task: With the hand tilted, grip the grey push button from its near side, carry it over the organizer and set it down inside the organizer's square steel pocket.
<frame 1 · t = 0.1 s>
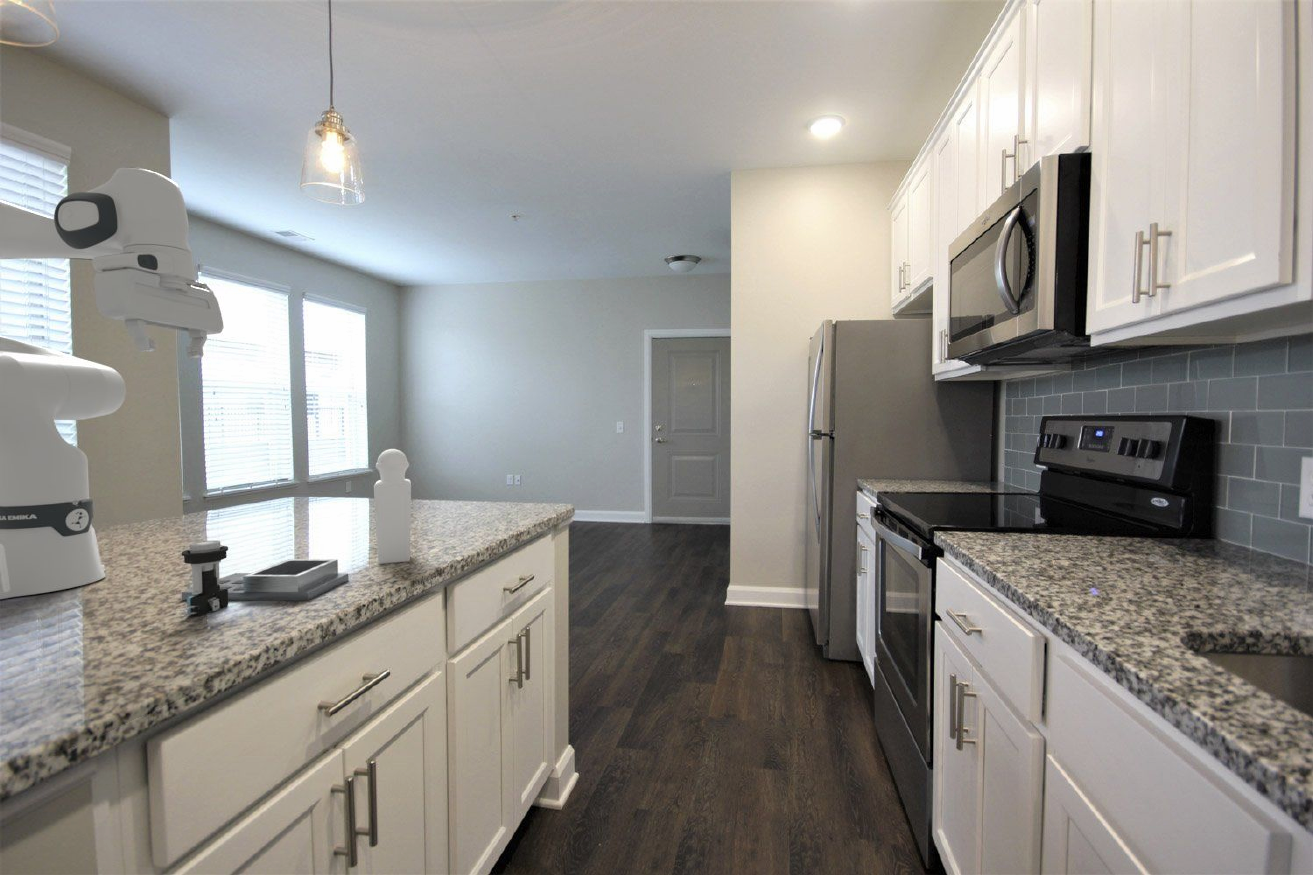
hand: (172, 354, 96), 39 cm above the worktop, tool pointing down, fingers open, 8 cm apart
organizer: (269, 589, 95), on the worktop
white bottle: (394, 560, 114), on the worktop
push button: (203, 613, 84), on the worktop
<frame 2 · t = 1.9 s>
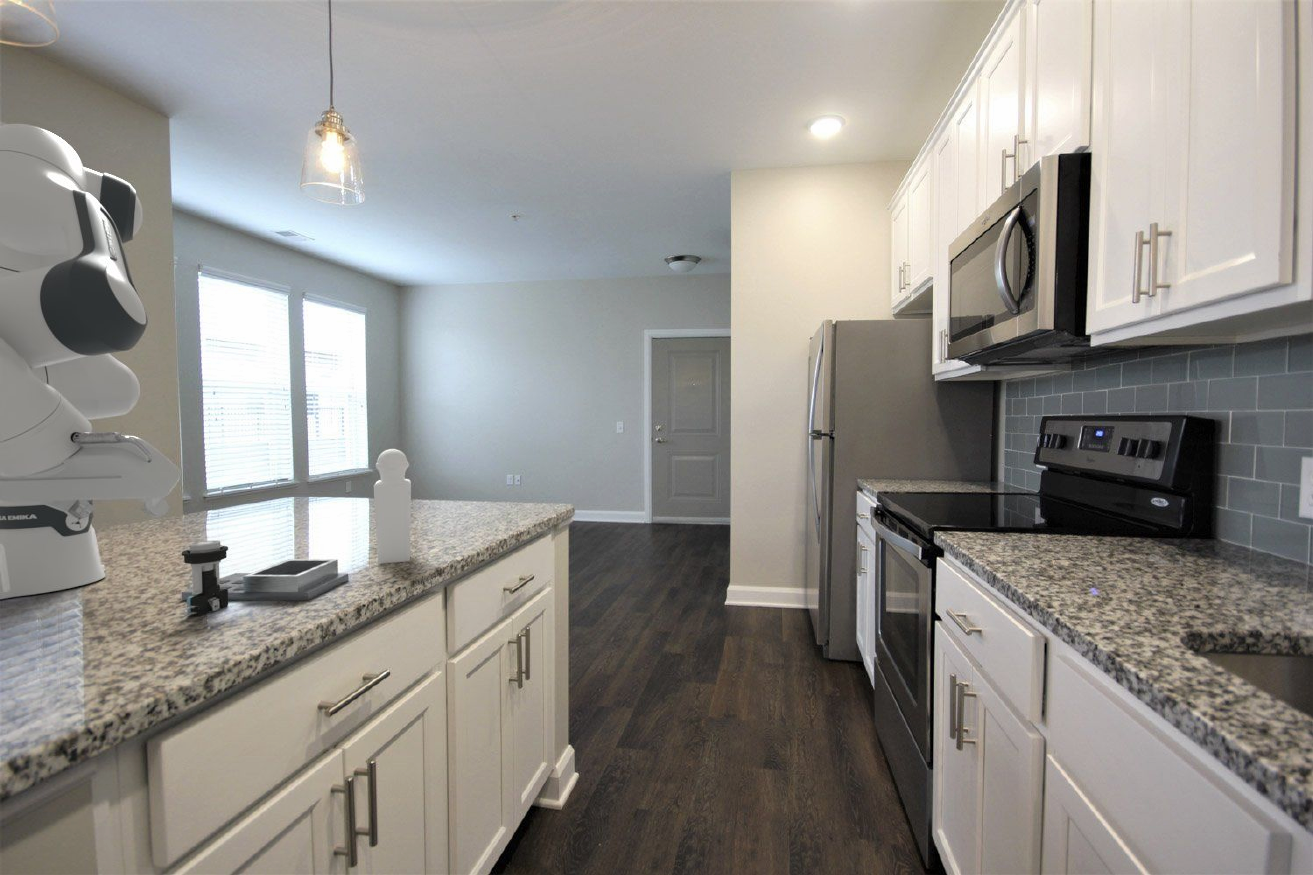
hand: (122, 513, 71), 17 cm above the worktop, tool tilted 45°, fingers open, 8 cm apart
nothing on the worktop moved.
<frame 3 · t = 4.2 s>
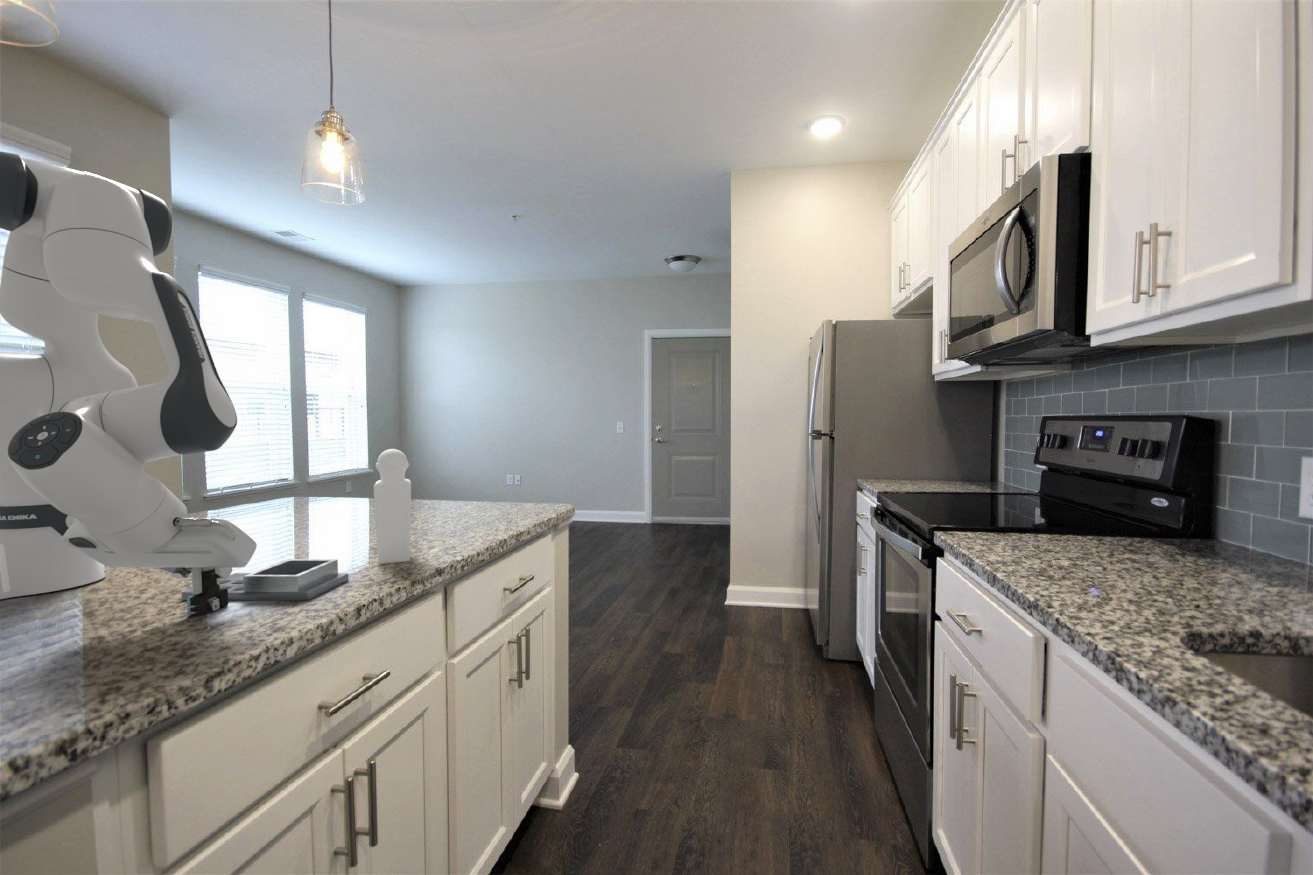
hand: (205, 574, 84), 5 cm above the worktop, tool tilted 45°, fingers closed on push button, 5 cm apart
push button: (203, 613, 84), on the worktop, touching gripper
everything else where it was.
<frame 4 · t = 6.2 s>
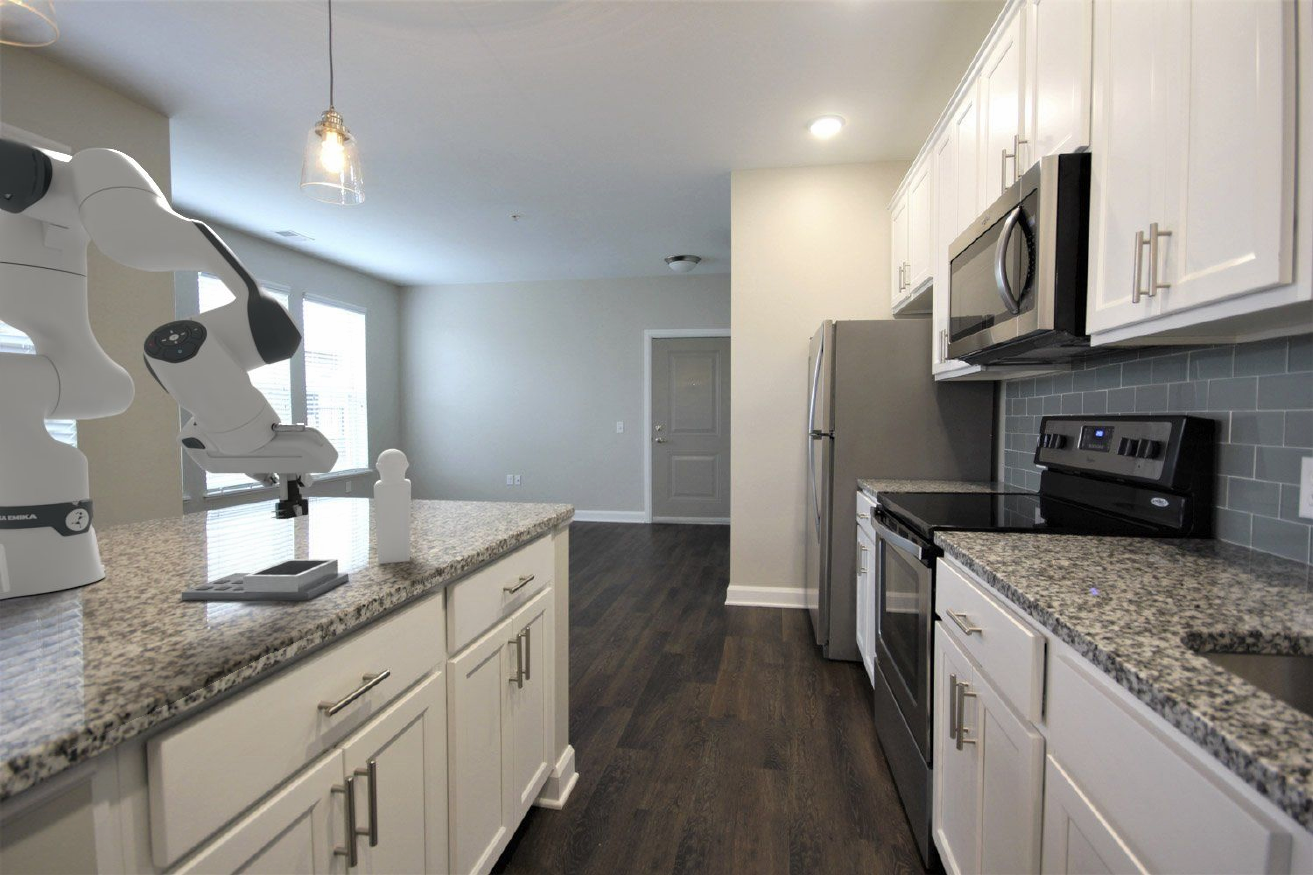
hand: (289, 484, 94), 17 cm above the worktop, tool tilted 45°, fingers closed on push button, 5 cm apart
push button: (288, 518, 94), point 12 cm above the worktop, touching gripper
everything else where it was.
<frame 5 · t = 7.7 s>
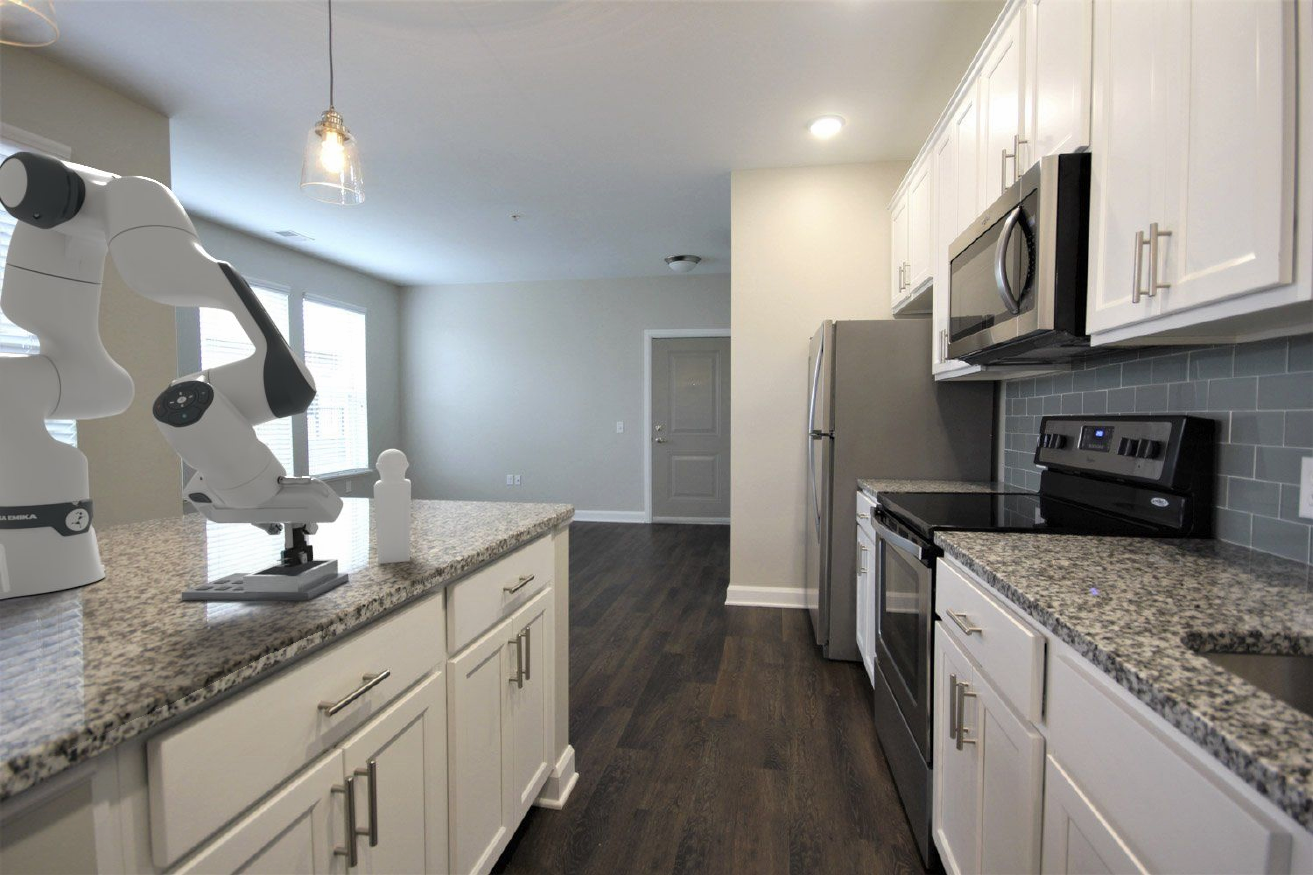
hand: (294, 531, 95), 9 cm above the worktop, tool tilted 45°, fingers closed on push button, 5 cm apart
push button: (293, 566, 94), point 4 cm above the worktop, touching gripper
everything else where it was.
when the fingers open (8 cm above the worktop, at t = 8.4 s): push button drops 1 cm, resting on organizer.
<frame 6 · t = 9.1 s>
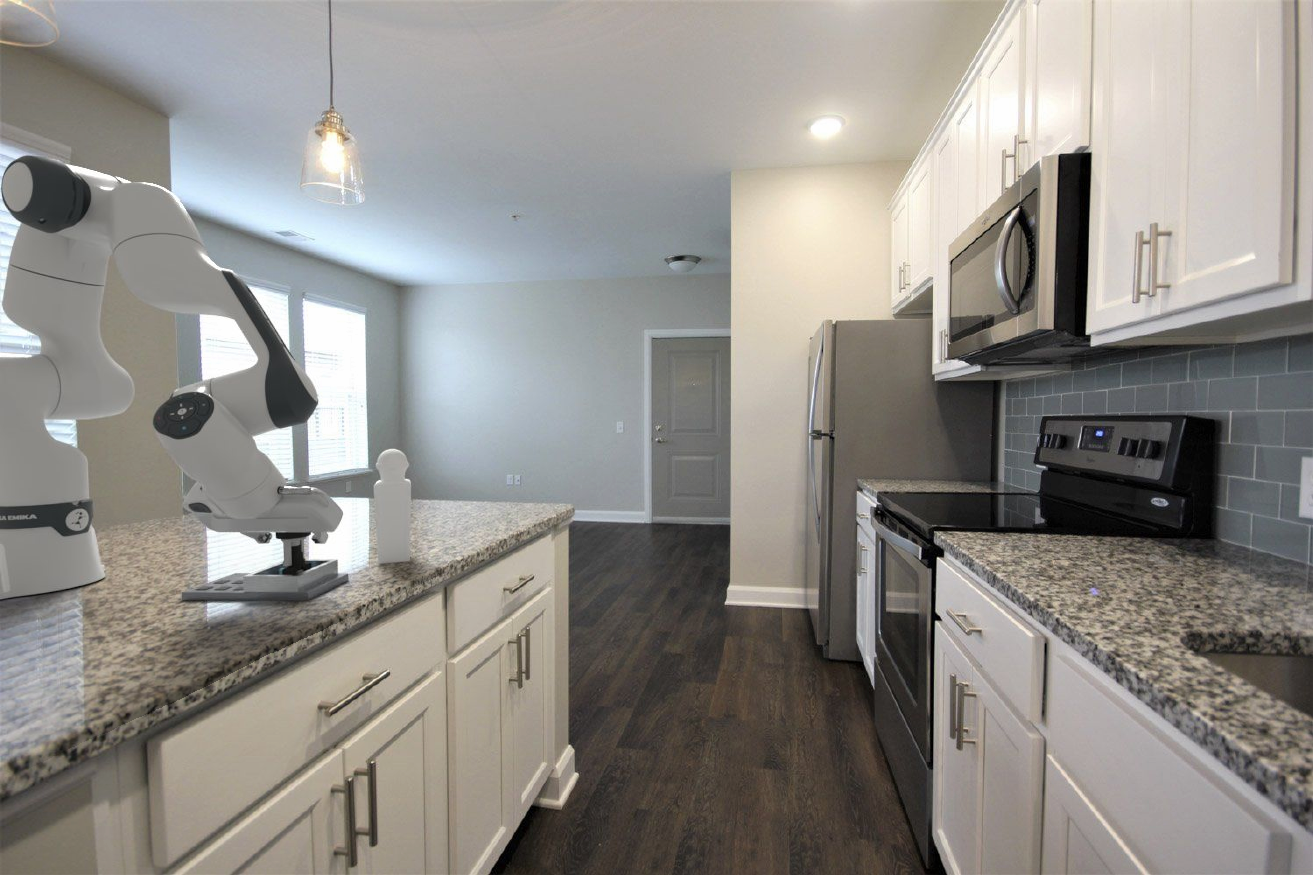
hand: (294, 540, 95), 8 cm above the worktop, tool tilted 45°, fingers open, 8 cm apart
push button: (292, 583, 94), point 1 cm above the worktop, touching organizer
everything else where it was.
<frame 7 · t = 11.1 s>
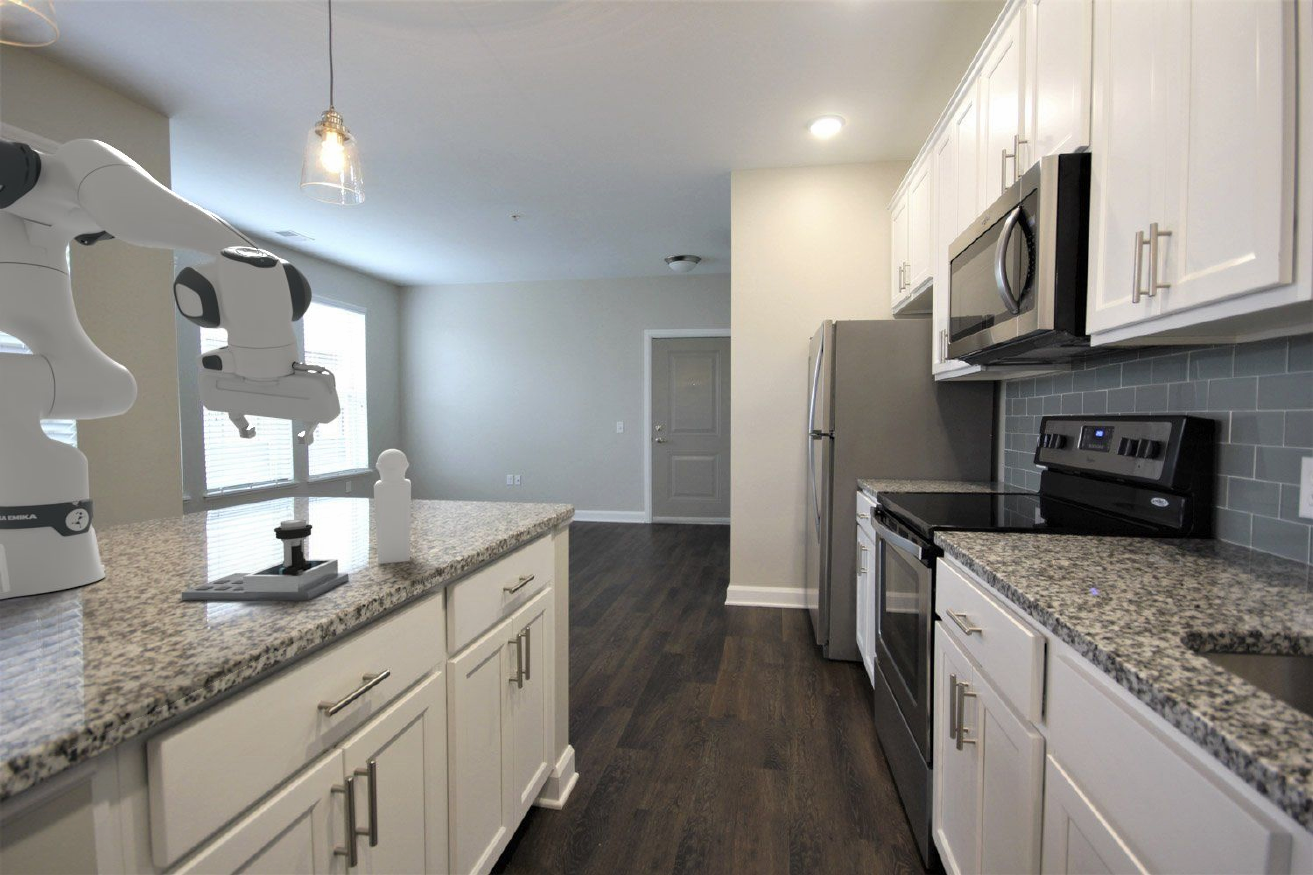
hand: (277, 440, 95), 24 cm above the worktop, tool tilted 20°, fingers open, 8 cm apart
nothing on the worktop moved.
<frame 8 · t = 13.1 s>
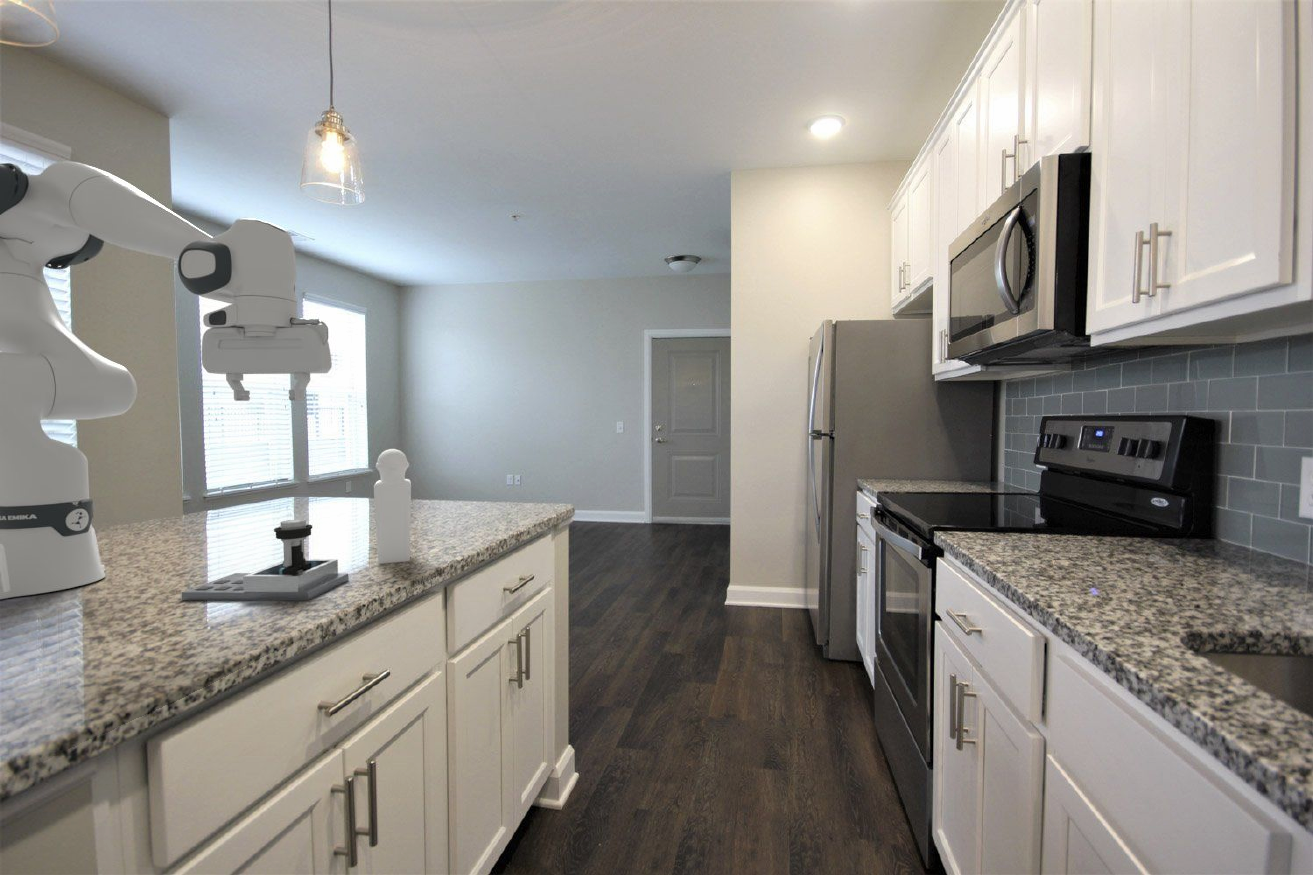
hand: (269, 400, 98), 31 cm above the worktop, tool pointing down, fingers open, 8 cm apart
nothing on the worktop moved.
at the end: push button 0.2 cm from the target spot on the organizer, point 1.0 cm above the organizer's base; push button tilted 0°; the gripper is holding nothing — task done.
